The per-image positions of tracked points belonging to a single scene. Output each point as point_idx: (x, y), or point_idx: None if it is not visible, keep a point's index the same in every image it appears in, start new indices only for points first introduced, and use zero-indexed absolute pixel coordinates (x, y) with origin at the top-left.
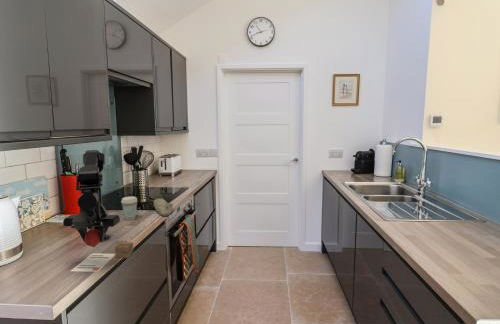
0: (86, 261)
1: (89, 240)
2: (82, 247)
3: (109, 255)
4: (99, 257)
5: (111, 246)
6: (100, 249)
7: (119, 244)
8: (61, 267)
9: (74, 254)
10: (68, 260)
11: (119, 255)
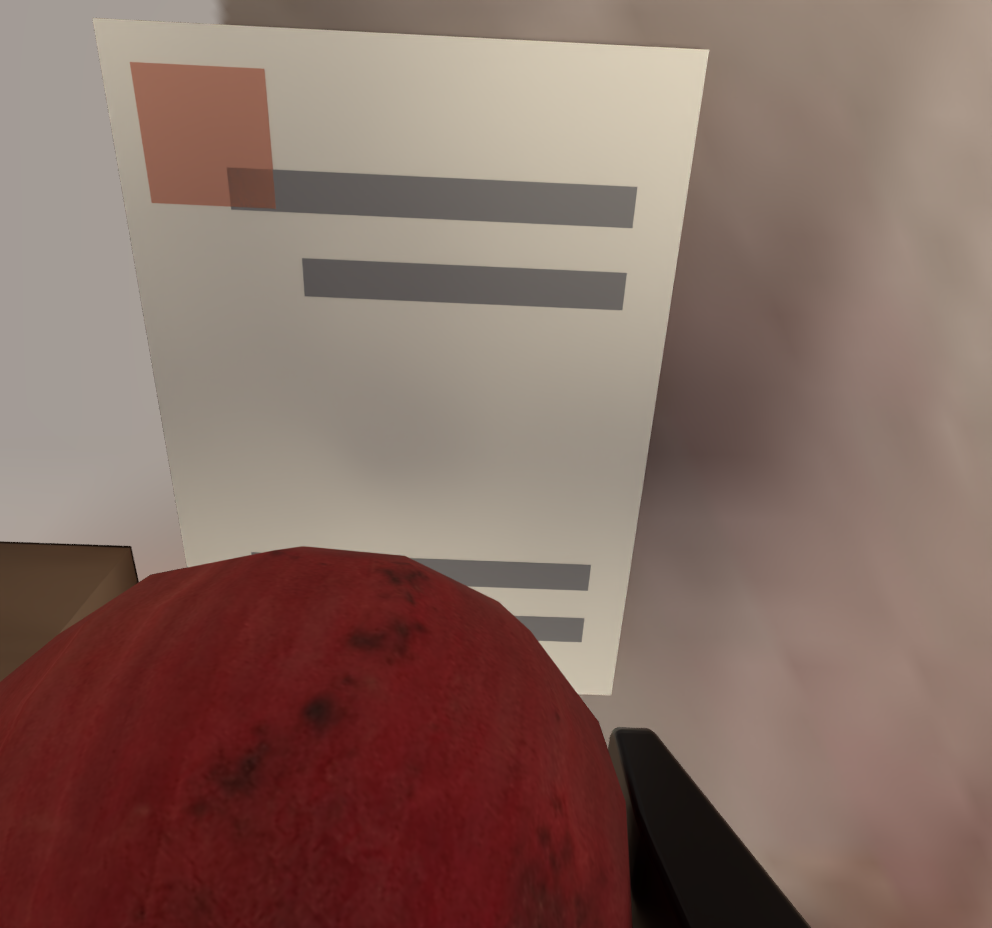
0: (571, 448)
1: (209, 639)
2: (846, 856)
3: None
4: None
5: None
6: None
7: None
8: (956, 268)
9: (888, 687)
10: (916, 513)
11: (24, 582)
